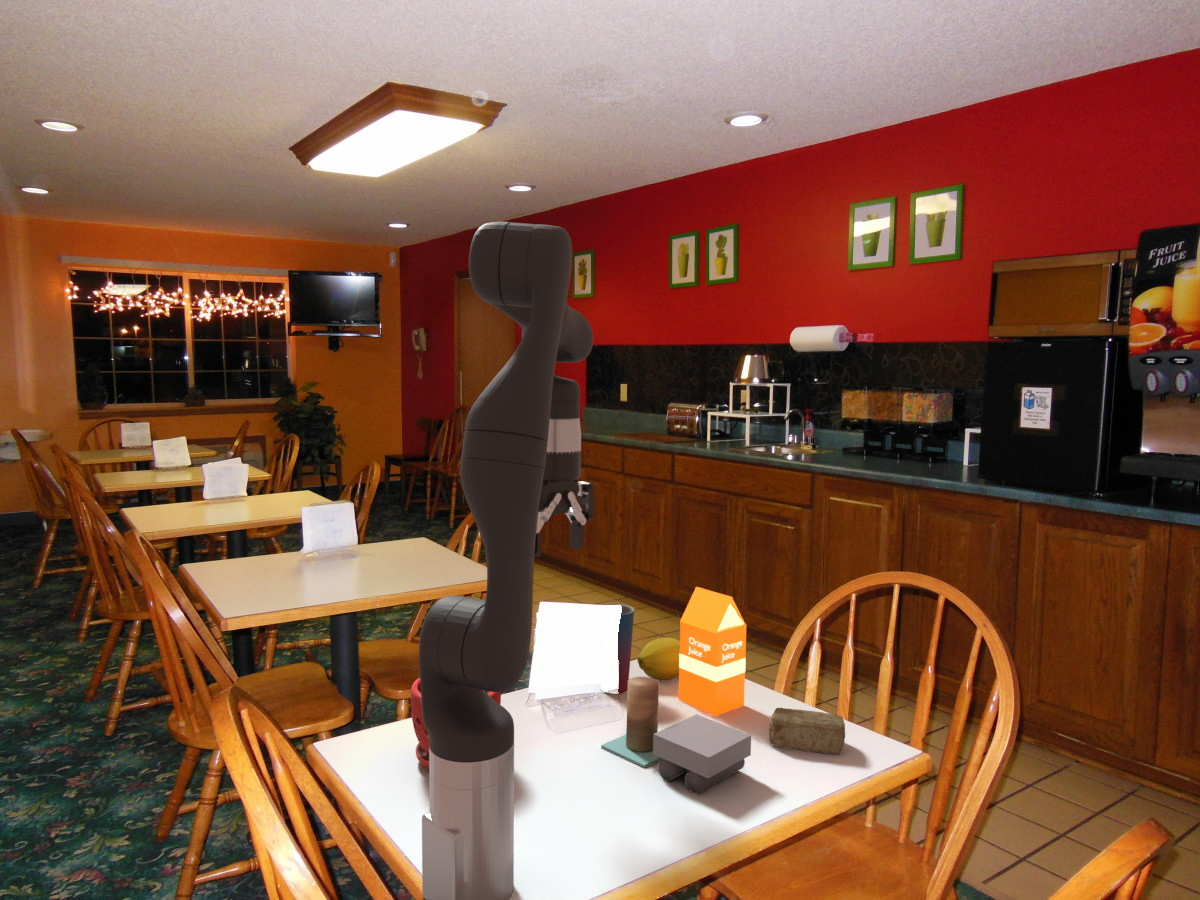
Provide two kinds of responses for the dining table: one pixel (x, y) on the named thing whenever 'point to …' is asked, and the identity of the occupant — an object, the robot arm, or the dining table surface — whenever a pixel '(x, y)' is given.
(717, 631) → the orange juice
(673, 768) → the grey roller platform
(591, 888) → the dining table surface
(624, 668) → the cup
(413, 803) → the dining table surface
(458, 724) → the robot arm
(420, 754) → the plant pot
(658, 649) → the lemon
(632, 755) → the teal pad
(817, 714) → the stone block
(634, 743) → the roller
